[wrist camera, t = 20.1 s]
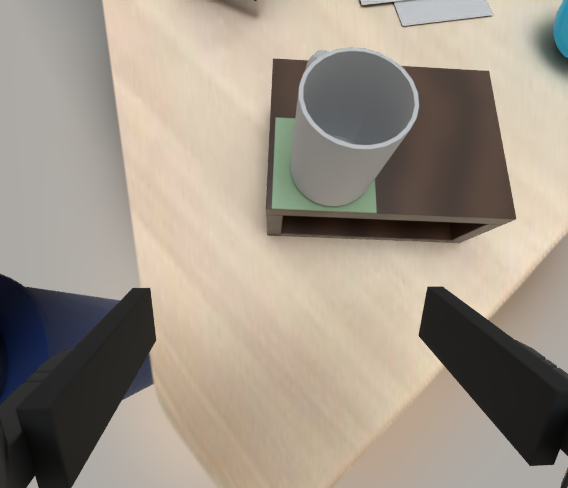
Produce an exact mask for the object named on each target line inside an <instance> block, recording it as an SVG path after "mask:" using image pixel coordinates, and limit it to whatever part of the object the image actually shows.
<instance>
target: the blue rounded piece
mask: <svg viewBox="0 0 568 488" xmlns="http://www.w3.org/2000/svg"><path fill="white" fill-rule="evenodd" d="M554 39H555V43H556V45H557V47H558V49H559V51H560V52H561V53H562V54H563V55H564V56H565V57H566V58H567V59H568V0H563V2H562V4H561V6H560V8H559V10H558V12H557V15H556V19H555V23H554Z"/></svg>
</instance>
